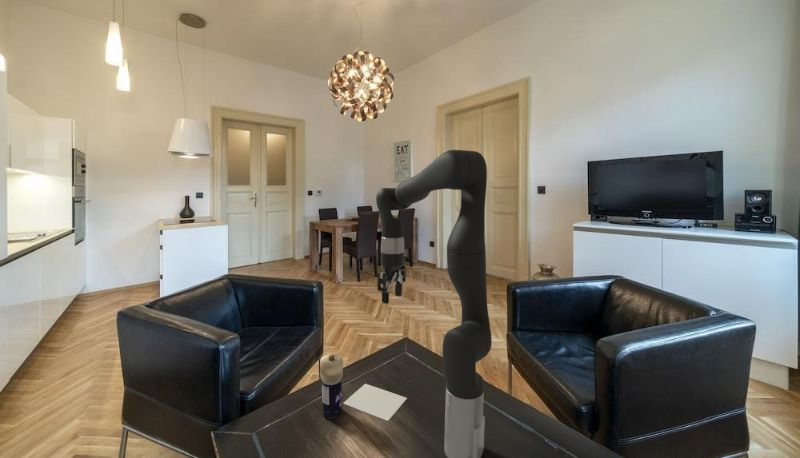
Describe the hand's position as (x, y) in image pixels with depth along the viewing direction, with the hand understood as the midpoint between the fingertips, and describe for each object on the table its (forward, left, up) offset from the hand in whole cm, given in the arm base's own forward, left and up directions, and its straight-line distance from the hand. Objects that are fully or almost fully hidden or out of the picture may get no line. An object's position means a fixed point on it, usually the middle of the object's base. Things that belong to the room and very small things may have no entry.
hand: (392, 299), depth 109 cm
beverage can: (+8, +21, -30) cm, 38 cm away
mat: (0, +10, -30) cm, 32 cm away
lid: (+8, +21, -18) cm, 29 cm away
